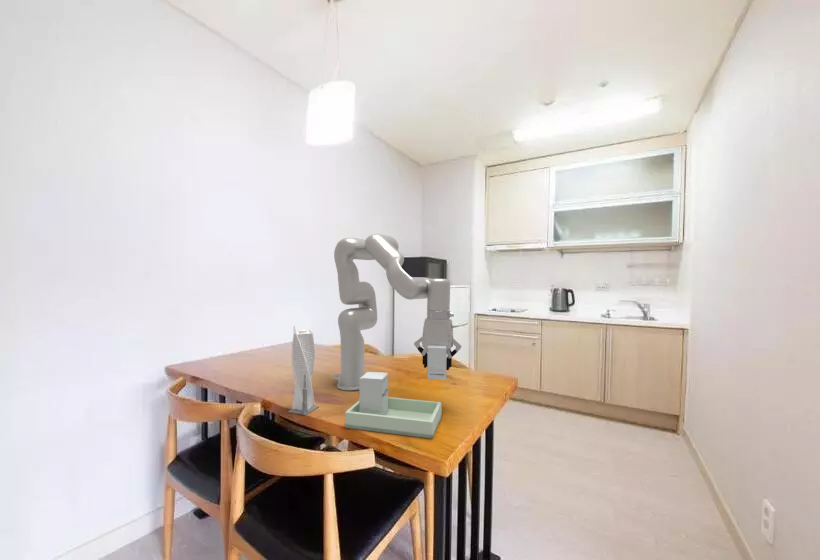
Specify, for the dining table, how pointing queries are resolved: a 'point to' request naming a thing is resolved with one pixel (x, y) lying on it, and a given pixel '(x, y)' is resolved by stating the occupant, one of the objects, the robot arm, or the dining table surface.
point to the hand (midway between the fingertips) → (436, 367)
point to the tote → (399, 418)
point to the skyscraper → (303, 371)
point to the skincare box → (436, 362)
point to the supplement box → (373, 393)
